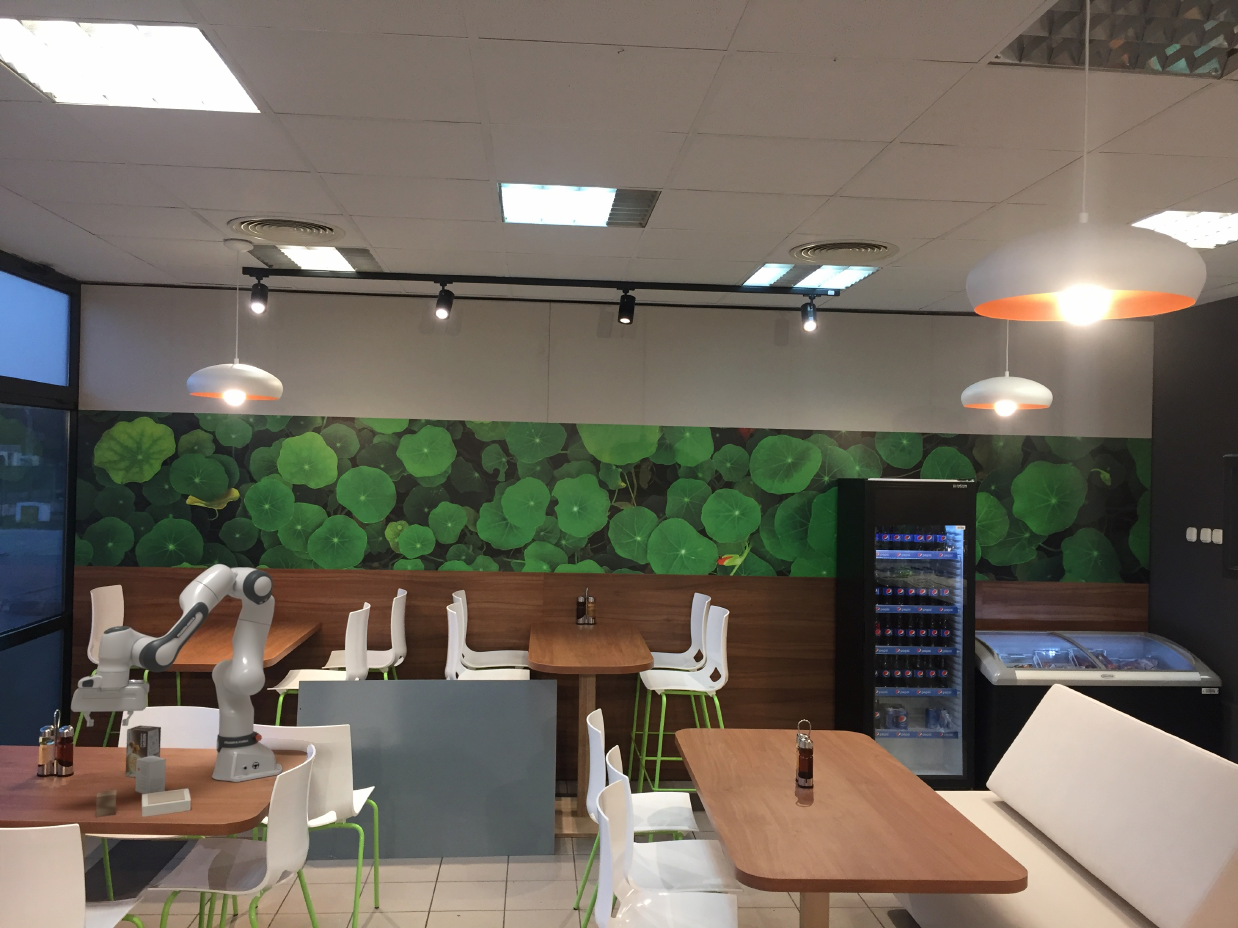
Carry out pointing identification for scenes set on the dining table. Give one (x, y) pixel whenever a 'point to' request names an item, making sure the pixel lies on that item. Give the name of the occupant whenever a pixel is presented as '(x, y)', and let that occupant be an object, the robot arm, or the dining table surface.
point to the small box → (150, 774)
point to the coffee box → (141, 745)
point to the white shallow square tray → (165, 802)
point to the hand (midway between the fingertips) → (107, 725)
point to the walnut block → (106, 803)
